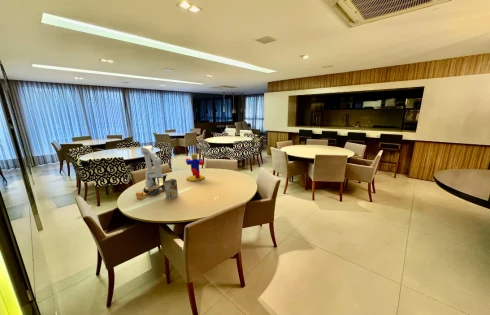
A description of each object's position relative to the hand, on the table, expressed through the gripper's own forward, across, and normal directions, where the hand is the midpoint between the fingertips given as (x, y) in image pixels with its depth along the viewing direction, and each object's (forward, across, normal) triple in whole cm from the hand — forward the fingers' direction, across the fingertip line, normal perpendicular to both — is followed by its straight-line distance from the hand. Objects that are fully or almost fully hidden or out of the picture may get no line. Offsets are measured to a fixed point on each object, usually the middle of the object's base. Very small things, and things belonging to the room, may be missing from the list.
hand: (159, 184), depth 184 cm
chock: (+10, -16, +1) cm, 19 cm away
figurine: (+10, +43, +23) cm, 49 cm away
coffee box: (+10, +7, -13) cm, 18 cm away
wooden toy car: (+10, -3, +8) cm, 13 cm away
